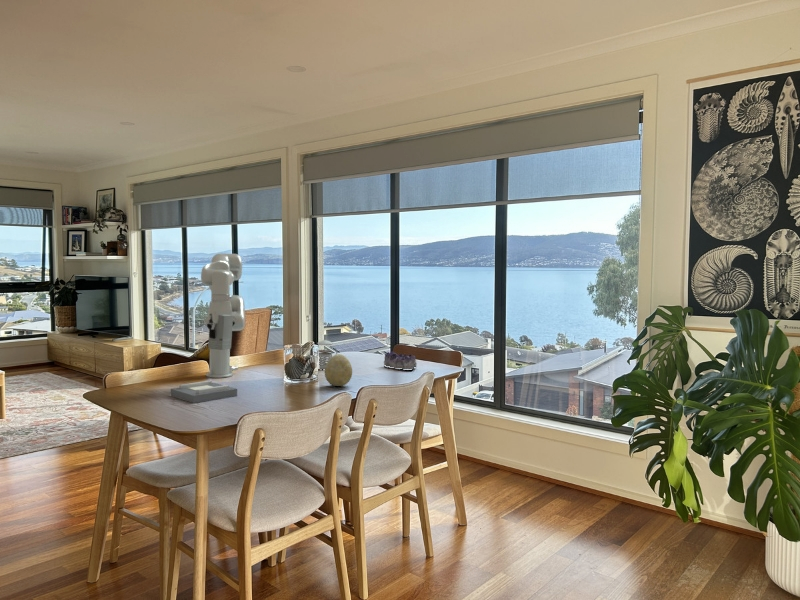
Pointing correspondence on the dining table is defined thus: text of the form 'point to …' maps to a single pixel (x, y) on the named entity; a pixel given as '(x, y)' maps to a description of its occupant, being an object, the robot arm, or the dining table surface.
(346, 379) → the fossilized egg
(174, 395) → the panel
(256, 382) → the dining table surface
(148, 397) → the dining table surface
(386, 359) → the geode
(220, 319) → the skincare box
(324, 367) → the french press
